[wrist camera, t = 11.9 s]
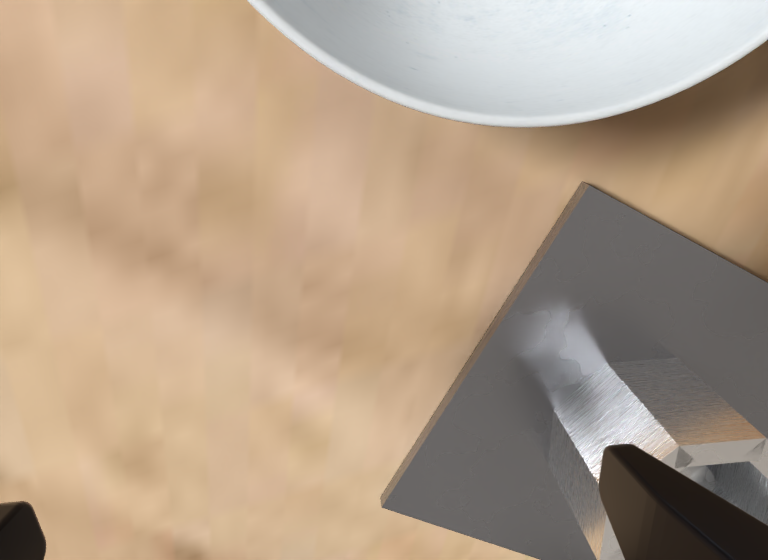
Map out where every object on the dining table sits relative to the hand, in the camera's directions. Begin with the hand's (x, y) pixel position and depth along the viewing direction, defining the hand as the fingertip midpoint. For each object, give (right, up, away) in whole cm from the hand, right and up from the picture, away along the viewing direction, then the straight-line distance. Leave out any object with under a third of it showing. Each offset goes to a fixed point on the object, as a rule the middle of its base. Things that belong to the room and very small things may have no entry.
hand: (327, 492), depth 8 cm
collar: (+11, -3, +15) cm, 19 cm away
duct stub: (+11, -3, +15) cm, 19 cm away
